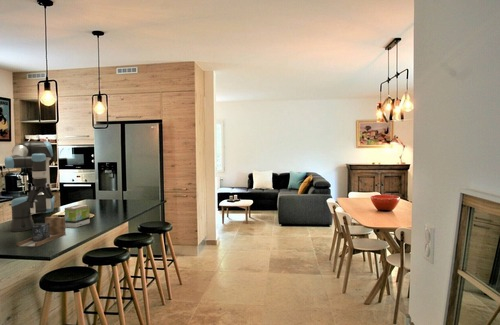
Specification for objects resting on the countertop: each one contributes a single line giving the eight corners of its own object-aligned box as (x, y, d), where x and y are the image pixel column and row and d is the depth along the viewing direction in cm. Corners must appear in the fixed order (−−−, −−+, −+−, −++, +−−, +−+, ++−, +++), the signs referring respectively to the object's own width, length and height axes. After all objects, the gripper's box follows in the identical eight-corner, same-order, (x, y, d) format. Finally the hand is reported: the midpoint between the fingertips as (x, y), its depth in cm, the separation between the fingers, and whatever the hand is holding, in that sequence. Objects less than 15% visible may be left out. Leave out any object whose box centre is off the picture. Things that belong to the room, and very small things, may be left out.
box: (32, 241, 201) (31, 225, 201) (37, 239, 207) (36, 222, 206) (45, 241, 202) (45, 224, 202) (50, 238, 208) (49, 222, 207)
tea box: (76, 228, 235) (75, 208, 234) (64, 227, 237) (63, 207, 236) (90, 223, 250) (89, 204, 249) (79, 222, 252) (78, 204, 251)
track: (17, 246, 193) (16, 226, 193) (47, 234, 219) (46, 216, 218) (37, 246, 192) (36, 226, 192) (65, 234, 218) (64, 217, 217)
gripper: (30, 180, 191) (31, 215, 192) (58, 175, 216) (59, 206, 217) (18, 180, 192) (20, 215, 193) (48, 175, 216) (49, 206, 218)
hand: (41, 210), depth 205 cm, fingers open, 13 cm apart
